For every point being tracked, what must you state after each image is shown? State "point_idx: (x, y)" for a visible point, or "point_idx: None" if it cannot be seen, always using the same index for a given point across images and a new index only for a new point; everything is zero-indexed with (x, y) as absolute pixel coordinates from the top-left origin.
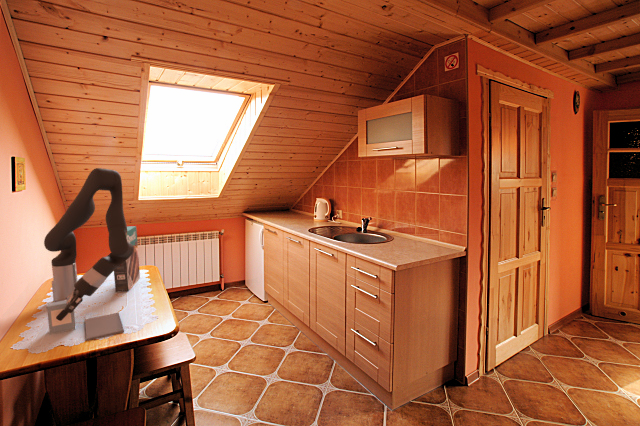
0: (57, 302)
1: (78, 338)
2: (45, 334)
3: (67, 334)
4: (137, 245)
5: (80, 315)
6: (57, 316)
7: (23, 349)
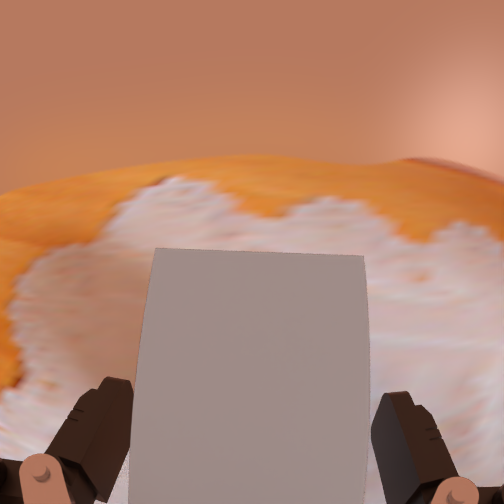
0: (299, 427)
1: None
2: None
3: None
4: None
5: None
6: (100, 390)
7: (101, 224)
